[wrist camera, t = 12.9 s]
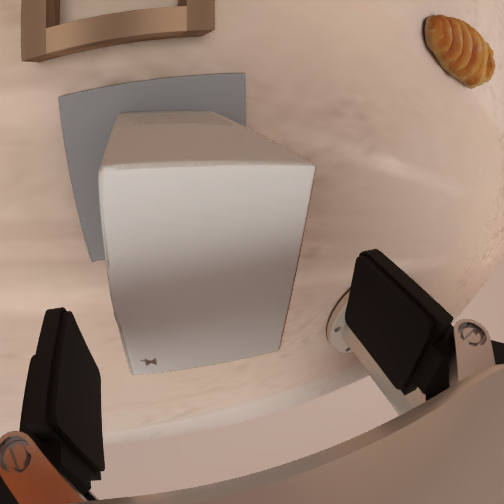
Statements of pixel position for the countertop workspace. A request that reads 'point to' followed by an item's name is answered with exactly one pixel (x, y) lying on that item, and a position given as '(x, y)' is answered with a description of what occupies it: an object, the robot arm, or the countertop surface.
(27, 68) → the countertop surface
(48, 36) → the holder
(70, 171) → the mat
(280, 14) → the countertop surface
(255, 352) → the small box
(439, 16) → the pastry
